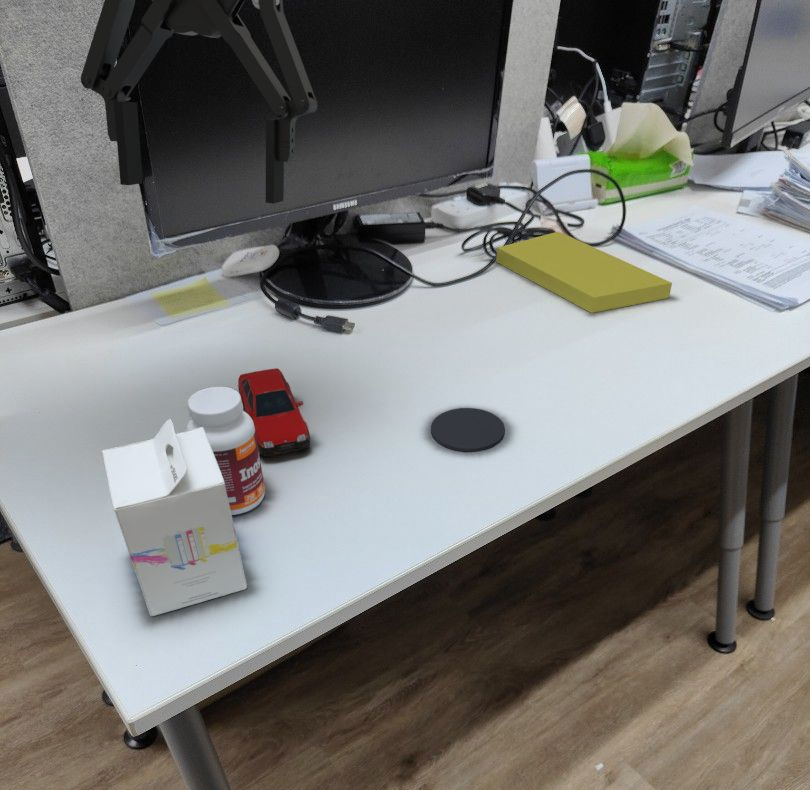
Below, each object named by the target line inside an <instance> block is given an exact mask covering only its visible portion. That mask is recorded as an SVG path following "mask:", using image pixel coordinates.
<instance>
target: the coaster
mask: <svg viewBox="0 0 810 790" xmlns="http://www.w3.org/2000/svg"><path fill="white" fill-rule="evenodd" d="M430 433H431V436H432V438H433V440H435V442H436V443H438V444H439V445H441V446H443V447H444V448H447V449H450V450H453V451H458V452H471V453H472V452H480V451H486V450H488V449H491V448H493V447H495V446H497V445H498V444H499V443H500V442H501V441H502V440H503V439H504V436H505V433H506V426H505V424H504V421H503V420H502V419H501V418H500V417H498V416H497V415H496V414H494V413H492V412H490V411H487V410H484V409H481V408H475V407H460V408H453V409H449V410H446V411H445V412H442V413H440V414H439V415H437V416H436V417H435V418H434V419H433V420H432V422H431V425H430Z"/></svg>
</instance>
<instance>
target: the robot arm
mask: <svg viewBox="0 0 810 790" xmlns="http://www.w3.org/2000/svg"><path fill="white" fill-rule="evenodd" d="M151 1H152V2H151V4H150V6H149V7H148V9H147V10H146V11H145V13H144V15H143V16H142V18H141V21H140V23H141V24H140V26H139V28H138V29H137V31H136V32H135V34H134V35H133V37H132V39H131V40H130V41H129V43H128V45H127V46H126V48H125V50H124V51H123V52H122V54H121V55H120V58H119V59H118V56H119V54H120V50H121V47H122V44H123V42H124V38H125V35H126V32H127V30H128V27H129V23H130V21H131V18H132V15H133V11H134V8H135V3H136V0H104V1H103V4H102V7H101V11H100V14H99V17H98V20H97V23H96V27H95V30H94V32H93V37H92V39H91V43H90V46H89V49H88V52H87V56H86V59H85V62H84V65H83V68H82V72H81V75H80V84H81V85H82V86H83V88H84V89H87V90H91V91H92V92H94V93H96V94H98V95H100V96H101V97H102V99H103V101H104V105H105V106H104V107H105V118H106V119H105V120H106V130H107V136H108V139H109V141H110V142H116V146H117V158H118V160H117V161H118V170H119V182H120V183H119V184H120V185H123V186H134V185H141V184H144V183H143V182H144V181H143V170H142V169H143V168H142V154H141V141H140V126H139V125H140V123H139V111H138V103H137V102H133V101H132V102H130V100H131V99H132V97H131V96H130V94H131V93H132V91H133V90H134V89H135V87H136V85H137V84H138V83H139V81H140V79H141V78H142V76H143V75H144V73H145V72H146V71H147V69H148V67H149V66H150V64H151V63H152V61H153V60H154V58H155V57H156V55H157V54H158V52H159V51H160V50H161V48H162V46H163V45H164V43H165V42H166V40H168V39H170V38H171V37H172V36H173V34H179V35H182V36H183V35H184V36H197V35H199V36H203V37H207V38H215V39H220V37H222V38H223V40H224V41H225V42H226V43H227V44H228V46H230V48H231V50H232V51H233V52H234V54H235V55H236V57H237V58H238V60H239V61H240V63H241V64H242V66H243V67H244V69H245V70H246V72H247V74H248V75H249V77H250V78H251V80H252V81H253V83H254V84H255V86H256V87H257V89H258V91H259V92H260V93H261V95H262V97H263V99H264V100H265V102H267V104H268V106H269V107H270V109H271V110H272V112H273V113H274V115H273V118H265V203H266V204H272V205H273V204H277V203H281V202H284V197H285V196H284V195H285V194H284V192H285V190H284V189H285V188H284V187H285V186H284V183H285V163H291V162H293V161H294V158H295V156H296V155H295V154H296V153H295V152H296V151H295V149H296V148H295V144H296V122H297V120H298V119H299V118H300V117H302V116H306V115H308V114H313V113H315V112H316V111H317V109H318V101H317V99H316V95H315V94H314V93H315V92H314V90H313V88H312V85H311V81H310V79H309V77H308V74H307V72H306V69H305V65H304V64H303V61H302V59H301V56H300V52H299V49H298V47H297V45H296V42H295V39H294V36H293V34H292V31H291V29H290V26H289V24H288V20H287V18H286V15H285V12H284V2H283V0H251V2H252V5H253V6H254V7H255V9H257V10H259V11H260V16H261V20H262V22H263V25H264V27H265V30H266V32H267V35H268V38H269V41H270V43H271V46H272V48H273V51H274V54H275V56H276V59H277V61H278V64H279V66H280V69H281V72H282V74H283V77H284V80H285V82H286V85H287V88H288V90H289V92H290V95H291V97H290V96H289V94H288V93H287V91H286V90H285V88H284V87H283V85H282V83H281V81H280V80H279V79H278V77H277V75H276V74H275V72H274V71H273V69H272V68H271V66H270V65H269V63H268V62H267V60H266V59H265V57H264V56H263V54H262V52H261V50H259V49H260V48H259V47H258V46H257V44H256V43H255V41H254V39H253V38H252V36H251V32H250V31H249V29H248V28H247V26H246V25H245V23H244V21H243V19H242V18H241V17H240V15H239V12H240V11H241V8H242V6H243V5H244V3H245V1H246V0H151ZM291 98H292V99H291Z"/></svg>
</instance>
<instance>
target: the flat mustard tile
mask: <svg viewBox="0 0 810 790" xmlns="http://www.w3.org/2000/svg"><path fill="white" fill-rule="evenodd" d="M495 261H496V263H497V264H499V265H501V266H503V267H505V268H507V269H508V270H510V271H512V272H514V273H516V274H518V275H520V276H522V277H524V278H525V279H527V280H529V281H531V282H532V283H535V284H537V285H539V286H540V287H542V288H544V289H546V290H548V291H550V292H551V293H553V294H555V295H557V296H559V297H561V298H563V299H564V300H566V301H568V302H570V303H572V304H574V305H576V306H578V307H579V308H582V309H583V310H585V311H587V312H589V313H591V314H593V313H599V312H604V311H609V310H615V309H619V308H625V307H629V306H636V305H640V304H645V303H651V302H655V301H660V300H661V301H662V300H666V299H670V295H671V290H672V286H673V282H671V281H669V280H668V279H667V280H666V279H665V278H663V277H660V276H658V275H656V274H655V273H654V274H653V273H652V272H649V271H647V270H645V269H643V268H640V267H638V266H636V265H634V264H632V263H629V262H627V261H625V260H623V259H620V258H618V257H616V256H614V255H612V254H610V253H607V252H605V251H603V250H601V249H599V248H596V247H595V246H592V245H590V244H587V243H585V242H583V241H581V240H579V239H577V238H574V237H572V236H569V235H568V234H566V233H563V232H561V231H556V232H551V233H548V234H543V235H540V236H537V237H532V238H529V239H524V240H522V241H517V242H513V243H510V244H505V245H502V246H499V247H498V246H497V247H496V260H495Z"/></svg>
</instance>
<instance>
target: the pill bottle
mask: <svg viewBox="0 0 810 790" xmlns="http://www.w3.org/2000/svg"><path fill="white" fill-rule="evenodd" d="M187 407H188V411H189V412H188V414H189V417H190V418H191V419H190V420H189V422H188V423H187V425H186V429H185V431H189V430H193V429H197V428H200V427H203V428H204V430H205V433H206V435H207V438H208V440H209V443H210V445H211V448H212V450H213V453H214V456H215V458H216V461H217V463H218V466H219V469H220V471H221V474H222V476H223V479H224V482H225V488H226V493H227V497H228V502H229V506H230V510H231V515H232V516H234V515H235V516H236V515H240V514H244V513H247V512H249V511H252V510H254V509H255V508H256V507H257V506H259V505H260V504H261V503H262V501H263V499H264V496H265V494H266V487H265V481H264V475H263V469H262V468H263V467H262V462H261V457H260V454H259V450H258V444H257V438H256V432H255V427H254V423H253V420H252V419H251V417H250V416H249V415H248V414H247V413H246V412H244V411H243V404H242V400H241V396H240V394H239V391H237V390H236V389H234V388H231V387H229V386H228V387H227V386H211V387H207V388H203V389H200V390H197V391H196V392H194V393H193V394H191V396H190V397H189V398H188V400H187Z"/></svg>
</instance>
